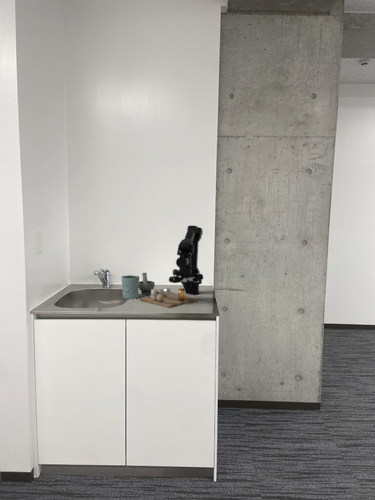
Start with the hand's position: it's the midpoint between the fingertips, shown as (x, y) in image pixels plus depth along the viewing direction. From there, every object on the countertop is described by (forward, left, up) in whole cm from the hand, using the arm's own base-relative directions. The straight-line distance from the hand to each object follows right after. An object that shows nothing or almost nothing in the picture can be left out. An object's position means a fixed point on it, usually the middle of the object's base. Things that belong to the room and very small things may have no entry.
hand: (186, 293), depth 228 cm
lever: (+2, -9, -3) cm, 10 cm away
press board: (+4, -9, -5) cm, 11 cm away
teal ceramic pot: (+14, -30, -5) cm, 34 cm away
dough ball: (+12, -8, -2) cm, 15 cm away
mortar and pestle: (+1, -31, -5) cm, 32 cm away
